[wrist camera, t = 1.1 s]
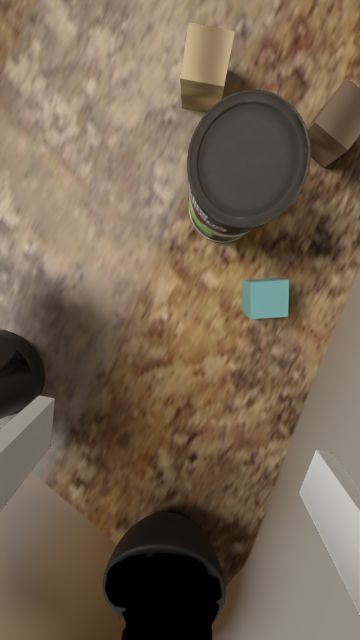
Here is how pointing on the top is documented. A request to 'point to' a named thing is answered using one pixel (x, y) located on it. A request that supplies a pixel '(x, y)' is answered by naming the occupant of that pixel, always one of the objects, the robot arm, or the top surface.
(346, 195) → the top surface
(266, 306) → the teal cube
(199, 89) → the oak cube
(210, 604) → the bowl of black rocks
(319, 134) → the walnut cube
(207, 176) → the coffee can
